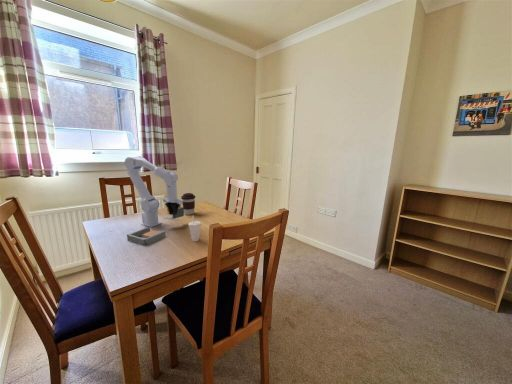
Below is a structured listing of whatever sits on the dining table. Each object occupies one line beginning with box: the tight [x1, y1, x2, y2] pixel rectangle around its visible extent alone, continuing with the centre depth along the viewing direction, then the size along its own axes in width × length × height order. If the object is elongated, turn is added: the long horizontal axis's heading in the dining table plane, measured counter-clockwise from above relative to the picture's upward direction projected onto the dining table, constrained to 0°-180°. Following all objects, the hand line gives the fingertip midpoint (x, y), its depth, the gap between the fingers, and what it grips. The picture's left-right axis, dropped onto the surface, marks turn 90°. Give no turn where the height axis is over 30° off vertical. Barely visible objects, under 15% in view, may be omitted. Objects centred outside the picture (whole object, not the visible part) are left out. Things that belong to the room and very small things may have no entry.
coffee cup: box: [180, 192, 196, 216], centre depth 159 cm, size 10×10×15 cm
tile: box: [141, 229, 161, 239], centre depth 121 cm, size 7×7×2 cm
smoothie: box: [187, 214, 201, 242], centre depth 115 cm, size 6×6×14 cm
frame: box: [126, 226, 167, 246], centre depth 117 cm, size 14×13×3 cm
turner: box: [163, 206, 185, 221], centre depth 135 cm, size 11×8×6 cm
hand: (173, 213), depth 133 cm, fingers closed on turner, 2 cm apart
